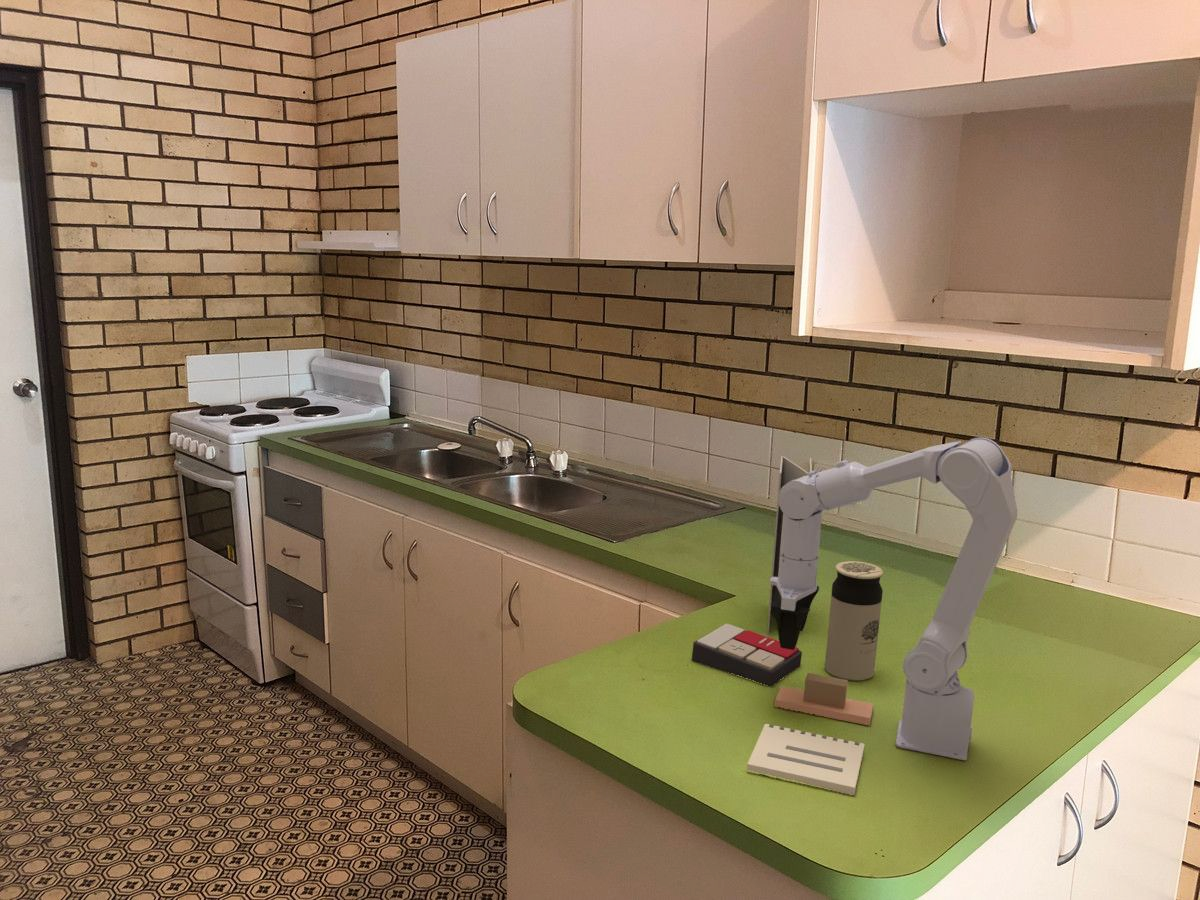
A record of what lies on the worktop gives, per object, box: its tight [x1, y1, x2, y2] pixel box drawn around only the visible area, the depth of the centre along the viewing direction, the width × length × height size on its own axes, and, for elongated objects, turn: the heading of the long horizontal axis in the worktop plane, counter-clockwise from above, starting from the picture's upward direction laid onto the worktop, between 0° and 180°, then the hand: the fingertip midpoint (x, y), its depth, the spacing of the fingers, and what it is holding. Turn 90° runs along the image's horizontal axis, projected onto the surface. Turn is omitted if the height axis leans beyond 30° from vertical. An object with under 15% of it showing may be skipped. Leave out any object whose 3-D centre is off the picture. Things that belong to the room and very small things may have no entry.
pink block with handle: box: [774, 672, 874, 726], centre depth 148 cm, size 14×5×5 cm, turn 69°
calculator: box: [691, 623, 803, 687], centre depth 164 cm, size 11×4×15 cm
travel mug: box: [824, 560, 884, 682], centre depth 160 cm, size 8×8×18 cm
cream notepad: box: [746, 723, 866, 796], centre depth 133 cm, size 14×12×1 cm
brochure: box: [766, 455, 813, 635], centre depth 179 cm, size 14×6×30 cm, turn 168°
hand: (791, 638), depth 151 cm, fingers open, 7 cm apart
